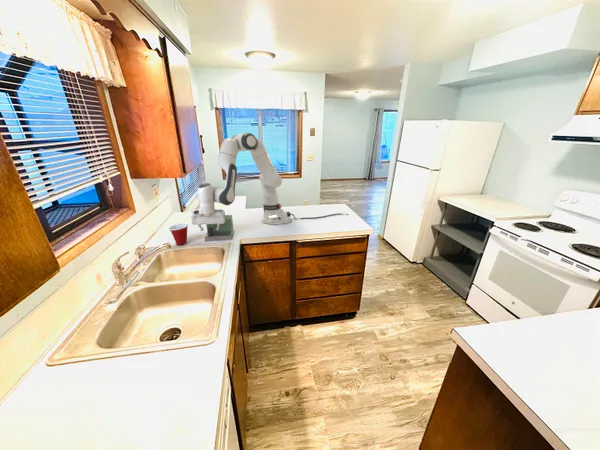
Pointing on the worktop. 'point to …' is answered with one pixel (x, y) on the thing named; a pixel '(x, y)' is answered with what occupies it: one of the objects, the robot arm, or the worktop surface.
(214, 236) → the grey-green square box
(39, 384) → the worktop surface
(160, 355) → the worktop surface
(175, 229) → the plastic cup
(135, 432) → the worktop surface
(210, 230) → the slider
